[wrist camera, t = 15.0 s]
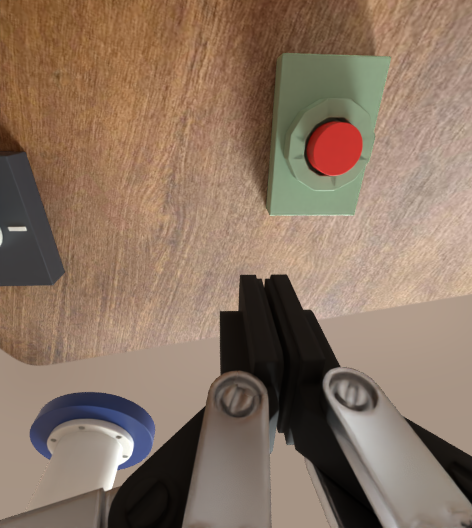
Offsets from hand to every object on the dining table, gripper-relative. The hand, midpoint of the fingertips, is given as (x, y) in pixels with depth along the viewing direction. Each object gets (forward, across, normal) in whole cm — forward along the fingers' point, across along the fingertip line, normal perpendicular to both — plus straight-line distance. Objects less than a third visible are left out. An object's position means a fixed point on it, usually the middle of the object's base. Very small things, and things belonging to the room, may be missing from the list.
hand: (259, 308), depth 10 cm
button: (+14, -7, -4) cm, 17 cm away
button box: (+18, -7, -4) cm, 20 cm away
